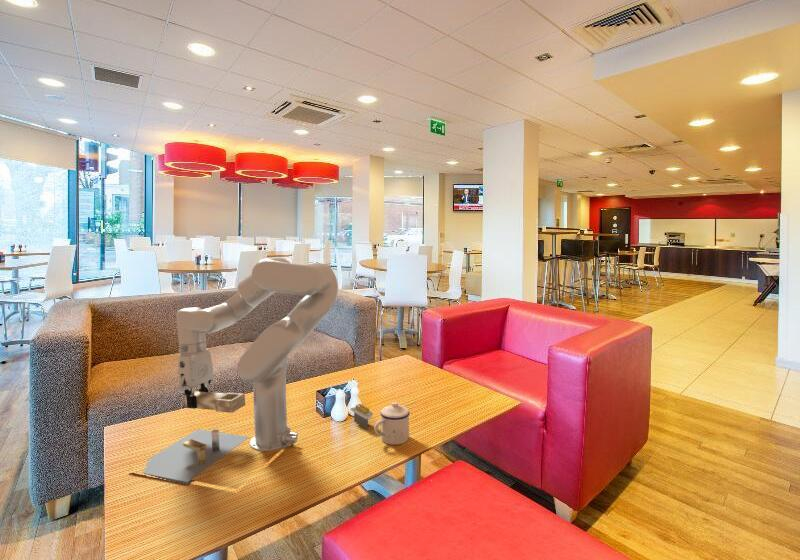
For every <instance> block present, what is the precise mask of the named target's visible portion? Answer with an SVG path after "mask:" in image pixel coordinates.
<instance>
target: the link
mask: <svg viewBox="0 0 800 560" xmlns="http://www.w3.org/2000/svg"><path fill="white" fill-rule="evenodd" d="M194 395H196V401H197V408H196V409H198V410H209V411H215V412H216V413H217V412H218V413H228V414H229V413H231V414H234V412H236V411H238V410H240V409H241V408H243V407H244V406H246V395H245V393H241V392H240V393H239V392H212V391H208V392H199V390H198V391H197V390H195V393H194ZM183 399H184V406H185V408H187V409H189V408H188V407H187V399H186V396H184V398H183Z"/></svg>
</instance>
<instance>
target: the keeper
mask: <svg viewBox="0 0 800 560" xmlns="http://www.w3.org/2000/svg"><path fill="white" fill-rule="evenodd" d="M183 446H184V447H187V448H190V449H192V450H195V451H197V454H198V464H199V465H203V464H205V463H206V455H205V449H206V448H207V445H206V444H203V443H201V442H198V441H195V440H192V439H190V440H188V441H186V442H184V443H183Z"/></svg>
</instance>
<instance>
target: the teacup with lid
mask: <svg viewBox="0 0 800 560" xmlns="http://www.w3.org/2000/svg"><path fill="white" fill-rule="evenodd" d="M410 413H411V412H410V410H409V408H407V407H406V406H404V405H400V404H399V403H398V402H397V401H393V402H392V403H391V404H390V405H387V406H384V407H383V408H382V409H381V410H380V417H381V418H380V419H379V420H377V421H376V422H375V424H374V427H373V429H374V433H375V435H377V436H378V437H381V440H382V442H384V443H385V444H388V445H392V446H393V445H395V446H396V445H397V446H398V445H403V444H405V443H407V442H408V440H409V438H410V422H409V421H410V419H409V418H410ZM380 425H381V427H380V428H381V431H380V432H379V431H378V427H379V426H380Z"/></svg>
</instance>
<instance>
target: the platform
mask: <svg viewBox="0 0 800 560" xmlns="http://www.w3.org/2000/svg"><path fill="white" fill-rule="evenodd" d="M350 411H351V412H352V413H353V418H354V421H353V422H354V423H356V424H358V425H359V426H361V427H362V428H364V429H366V430H369V420H370V419H372V417H373V414H374V412H372V411H370V408H369V407H367V406H365V405H363V404H362V403H359V404H355V407H351V408H350Z"/></svg>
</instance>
